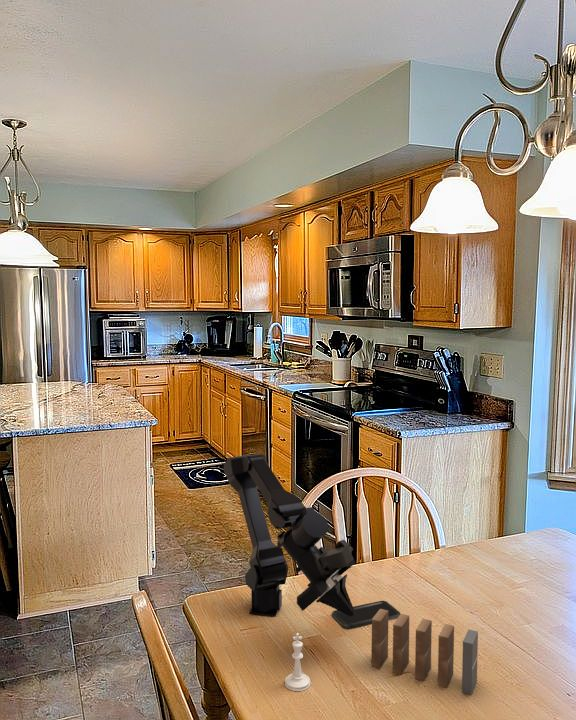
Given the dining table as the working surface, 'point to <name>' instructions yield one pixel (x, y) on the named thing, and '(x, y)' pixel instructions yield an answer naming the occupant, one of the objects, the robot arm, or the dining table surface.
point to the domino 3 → (423, 649)
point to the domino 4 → (445, 655)
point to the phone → (364, 614)
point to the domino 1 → (379, 638)
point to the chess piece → (297, 669)
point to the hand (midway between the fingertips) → (353, 615)
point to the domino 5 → (469, 662)
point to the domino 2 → (400, 644)
